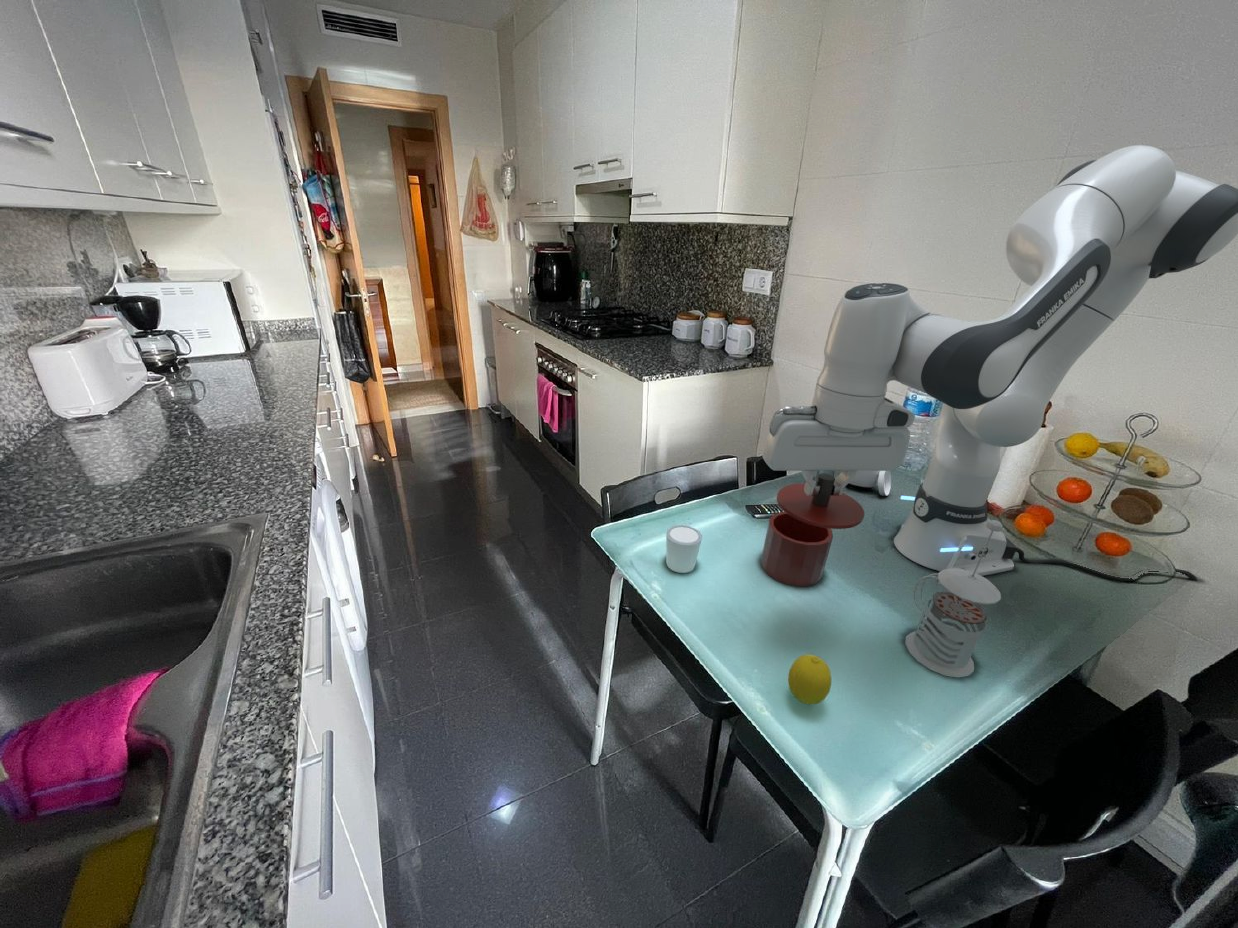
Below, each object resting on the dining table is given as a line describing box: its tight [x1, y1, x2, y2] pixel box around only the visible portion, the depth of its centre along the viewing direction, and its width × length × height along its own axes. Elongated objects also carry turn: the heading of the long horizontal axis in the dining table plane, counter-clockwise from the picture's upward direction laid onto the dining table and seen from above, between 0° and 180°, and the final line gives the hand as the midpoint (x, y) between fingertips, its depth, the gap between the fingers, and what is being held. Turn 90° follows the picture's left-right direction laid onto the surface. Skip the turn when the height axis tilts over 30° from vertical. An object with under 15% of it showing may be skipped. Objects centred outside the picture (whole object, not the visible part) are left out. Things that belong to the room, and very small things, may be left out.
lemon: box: [787, 654, 832, 705], centre depth 70 cm, size 6×6×8 cm
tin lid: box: [776, 473, 865, 530], centre depth 75 cm, size 13×13×6 cm
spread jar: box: [846, 471, 892, 497], centre depth 130 cm, size 12×11×12 cm
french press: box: [904, 519, 1004, 679], centre depth 76 cm, size 10×12×25 cm
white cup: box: [665, 524, 703, 574], centre depth 97 cm, size 7×7×7 cm
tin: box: [760, 511, 834, 587], centre depth 97 cm, size 12×12×10 cm
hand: (822, 493), depth 75 cm, fingers closed on tin lid, 2 cm apart
